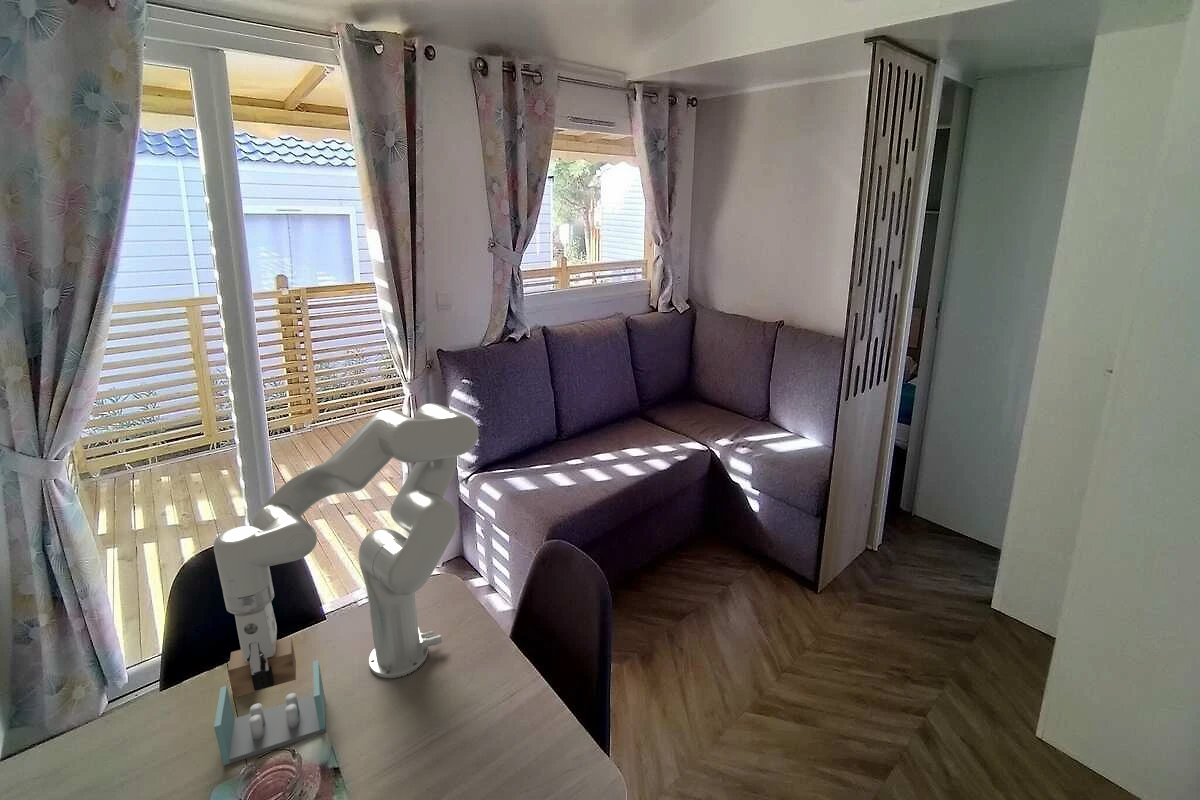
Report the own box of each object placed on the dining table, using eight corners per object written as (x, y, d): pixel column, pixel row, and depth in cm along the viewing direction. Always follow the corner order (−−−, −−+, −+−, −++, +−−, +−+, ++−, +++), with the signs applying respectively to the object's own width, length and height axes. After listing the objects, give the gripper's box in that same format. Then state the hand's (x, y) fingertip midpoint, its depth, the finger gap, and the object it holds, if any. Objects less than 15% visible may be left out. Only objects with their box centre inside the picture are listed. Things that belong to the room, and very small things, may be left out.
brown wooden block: (295, 662, 116) (291, 636, 114) (295, 679, 111) (291, 653, 110) (236, 678, 111) (231, 652, 110) (234, 697, 107) (228, 670, 105)
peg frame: (324, 695, 123) (318, 659, 120) (326, 731, 114) (319, 694, 112) (229, 724, 116) (220, 687, 113) (223, 765, 107) (214, 726, 105)
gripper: (271, 616, 100) (286, 702, 105) (274, 564, 115) (288, 642, 120) (218, 629, 97) (238, 717, 102) (229, 573, 111) (246, 653, 117)
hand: (265, 676), depth 111 cm, fingers closed on brown wooden block, 5 cm apart
